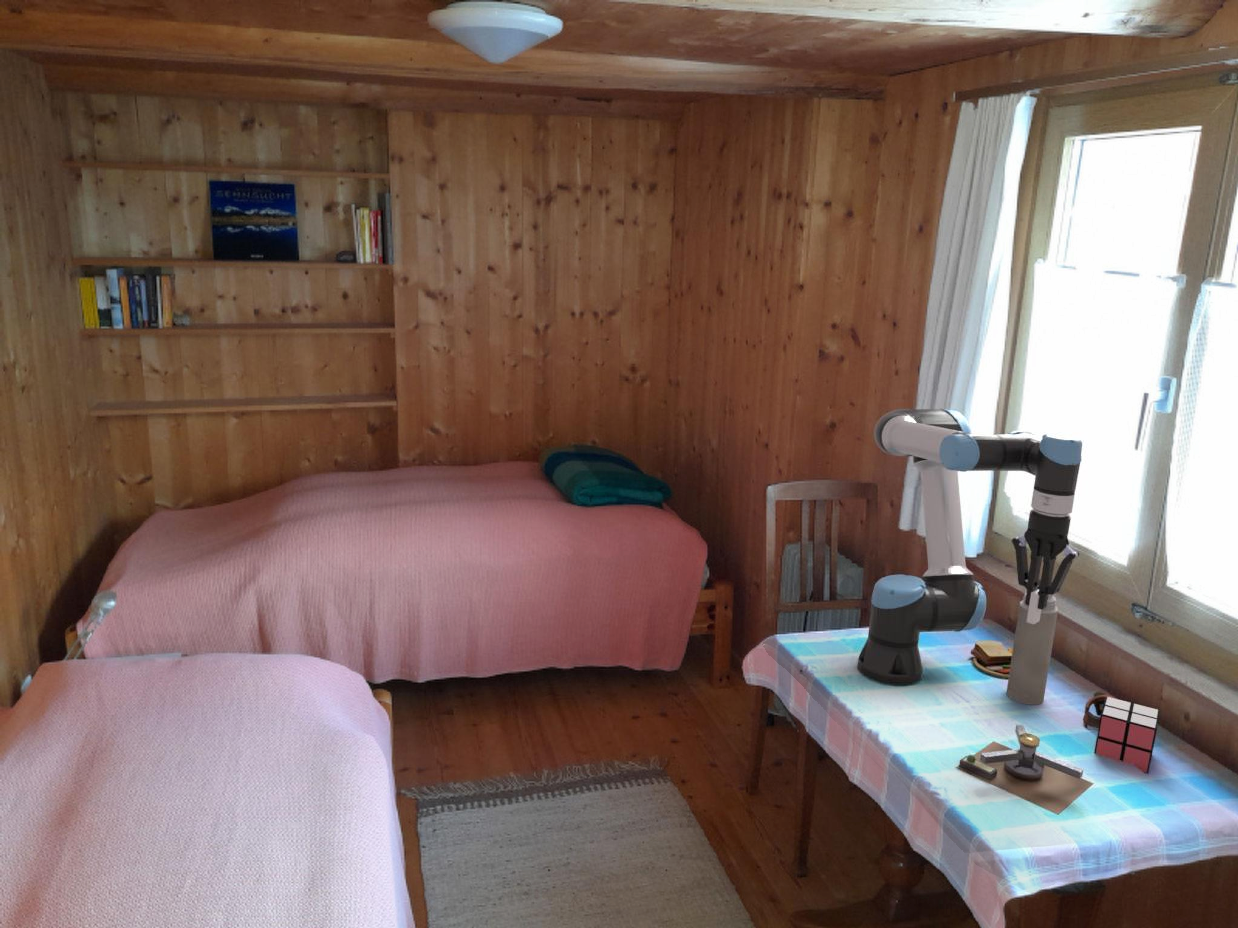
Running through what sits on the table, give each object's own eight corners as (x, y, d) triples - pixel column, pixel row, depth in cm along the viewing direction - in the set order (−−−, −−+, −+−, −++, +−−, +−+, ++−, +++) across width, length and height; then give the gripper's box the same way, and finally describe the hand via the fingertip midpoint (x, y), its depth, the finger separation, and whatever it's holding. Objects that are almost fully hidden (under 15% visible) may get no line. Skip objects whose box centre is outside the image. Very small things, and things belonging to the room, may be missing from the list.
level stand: (954, 772, 186) (957, 754, 185) (992, 746, 196) (995, 729, 196) (1057, 820, 172) (1060, 801, 171) (1092, 788, 182) (1095, 770, 181)
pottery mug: (1142, 741, 202) (1134, 714, 199) (1097, 754, 204) (1089, 728, 201) (1118, 702, 213) (1110, 676, 209) (1075, 715, 215) (1067, 689, 212)
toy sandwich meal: (986, 680, 227) (989, 661, 226) (962, 656, 241) (964, 638, 239) (1036, 680, 229) (1039, 662, 227) (1010, 656, 242) (1012, 638, 241)
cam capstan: (1080, 798, 176) (1087, 760, 174) (978, 781, 180) (983, 744, 179) (1063, 756, 191) (1069, 720, 189) (969, 741, 195) (974, 706, 193)
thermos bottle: (1007, 685, 224) (1024, 573, 218) (1044, 693, 221) (1062, 580, 215) (1005, 699, 217) (1022, 584, 211) (1043, 707, 214) (1061, 591, 208)
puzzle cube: (1148, 774, 188) (1157, 729, 186) (1092, 758, 193) (1100, 714, 191) (1151, 753, 197) (1160, 709, 194) (1098, 738, 202) (1105, 695, 199)
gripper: (1010, 506, 191) (994, 615, 197) (1076, 523, 182) (1057, 636, 188) (1027, 501, 196) (1010, 607, 202) (1091, 516, 187) (1072, 627, 193)
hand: (1033, 621), depth 195 cm, fingers closed
